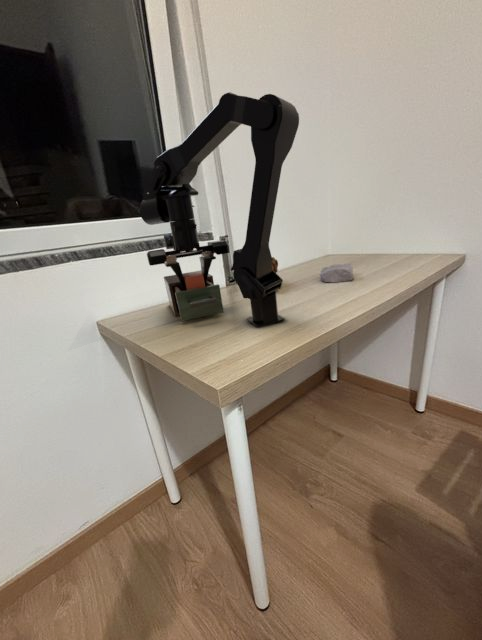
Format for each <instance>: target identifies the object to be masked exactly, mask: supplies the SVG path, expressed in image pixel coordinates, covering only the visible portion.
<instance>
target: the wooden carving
mask: <svg viewBox="0 0 482 640" xmlns="http://www.w3.org/2000/svg"><path fill="white" fill-rule="evenodd" d="M278 261H279V260H277V259H276V258H275V257H274V256H272V270H273V271H274V272H275V273H276V274H277V273H278V266H279V262H278Z"/></svg>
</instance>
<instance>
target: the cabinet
mask: <svg viewBox="0 0 482 640" xmlns="http://www.w3.org/2000/svg"><path fill="white" fill-rule="evenodd" d="M199 272H200V273H201V269H200V270H195V271H188V272H182V274H183V275H187V274H193V273H199ZM201 274H202V273H201ZM207 280H208V281H209V282H211V283H212V284H214V285H215V282H214V276H213V275H212V274H210V273H208V277H207ZM163 281H164V285H165V289H166V294H167V299H168V303H169V306H170V308H171V310H172V312H173V315H174V316H175V317H180V313H179V309H178V307H177V303H176V298H175V293H174V289H173V286H177V285H181V283H180V281H179V279H178V277H177V275H176V274H171V275H166V276H163Z"/></svg>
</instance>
